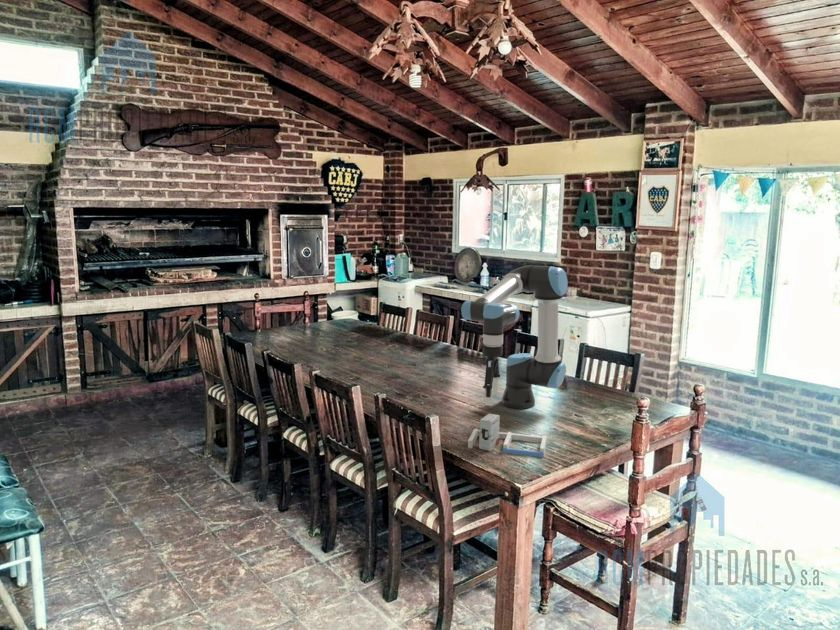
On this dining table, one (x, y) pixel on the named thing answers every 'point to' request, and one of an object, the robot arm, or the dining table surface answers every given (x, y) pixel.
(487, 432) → the ink box
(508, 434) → the white and blue frame
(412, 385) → the dining table surface
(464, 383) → the dining table surface
